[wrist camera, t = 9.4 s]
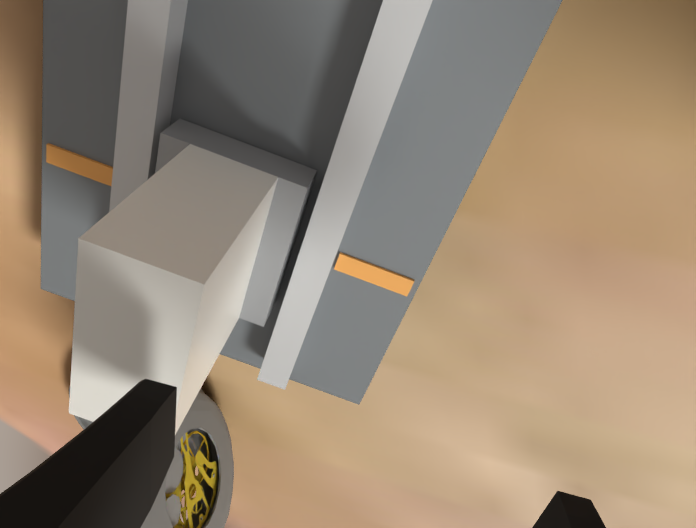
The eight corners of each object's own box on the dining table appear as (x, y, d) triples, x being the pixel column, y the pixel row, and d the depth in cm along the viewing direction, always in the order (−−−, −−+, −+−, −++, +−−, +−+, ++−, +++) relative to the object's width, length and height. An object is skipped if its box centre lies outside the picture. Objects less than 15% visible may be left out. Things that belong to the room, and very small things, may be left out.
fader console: (830, -587, 9) (974, -783, 6) (366, 366, 22) (354, 425, 19) (131, -898, 9) (-3, -1236, 6) (73, 259, 21) (22, 305, 19)
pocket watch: (57, 392, 26) (-136, 622, 17) (147, 295, 22) (-49, 534, 13) (197, 487, 28) (85, 732, 19) (303, 414, 24) (219, 686, 15)
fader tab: (317, 170, 15) (245, 299, 10) (274, 303, 18) (200, 460, 13) (180, 118, 15) (35, 222, 10) (157, 261, 18) (35, 401, 13)
